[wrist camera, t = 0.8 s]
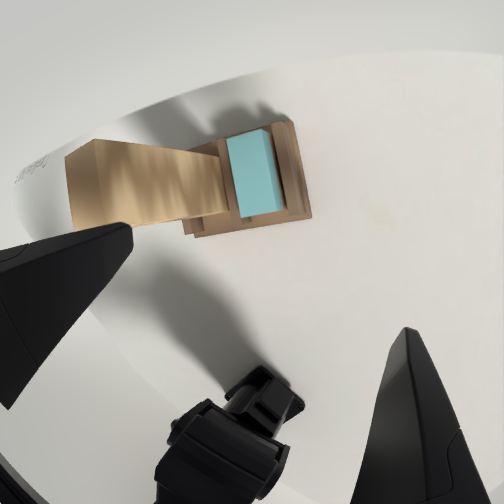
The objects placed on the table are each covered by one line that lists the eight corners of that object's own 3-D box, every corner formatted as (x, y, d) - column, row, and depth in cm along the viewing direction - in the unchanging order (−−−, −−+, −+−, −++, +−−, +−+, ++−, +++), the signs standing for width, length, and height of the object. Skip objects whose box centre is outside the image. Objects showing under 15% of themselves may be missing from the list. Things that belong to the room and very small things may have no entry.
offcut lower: (288, 209, 25) (283, 210, 23) (256, 215, 26) (249, 216, 24) (274, 135, 24) (268, 132, 23) (243, 144, 25) (234, 141, 24)
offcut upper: (283, 210, 23) (277, 211, 22) (249, 216, 24) (240, 217, 23) (268, 132, 23) (260, 129, 21) (234, 141, 24) (226, 139, 22)
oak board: (235, 209, 26) (106, 228, 14) (206, 215, 27) (75, 238, 15) (225, 158, 26) (94, 138, 13) (197, 166, 27) (64, 157, 14)
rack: (312, 217, 25) (303, 220, 22) (200, 236, 29) (182, 241, 27) (293, 122, 24) (282, 113, 21) (185, 154, 28) (166, 151, 26)
